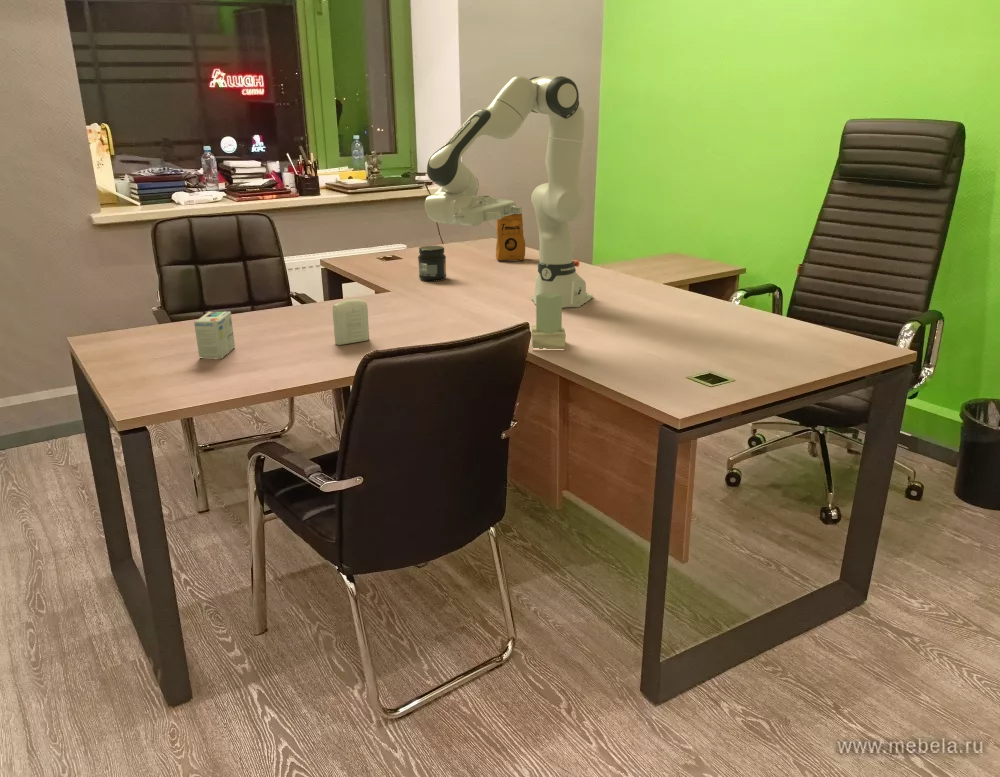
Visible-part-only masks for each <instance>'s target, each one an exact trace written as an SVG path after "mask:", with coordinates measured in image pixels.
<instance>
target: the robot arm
mask: <svg viewBox="0 0 1000 777" xmlns="http://www.w3.org/2000/svg"><path fill="white" fill-rule="evenodd" d="M579 99H580V94H579V89H578V86H577V84H576V83H575V81H573V80H572V79H571V78H569V77H566V76H558V75H545V76H535V77H531V78H528V77H525V76H523V75H515V76H513V77H512V78H511V79H510V80H508V81H507V82H506V84H505V85H504V86H503V87H502V88H501V89H500V90H499V91H498V93H497V95H495V97H494V98H493V100H492V101H491V102H490V104H488V106H487V107H485V108H482V109H478V110H476V111H475V112H473V113H472V114H471V115H470V116H469V117H468V118H467V119H466V120H465V121H464V122H463V123H462V125H461V126H460V127H459V128H458V129H457V130H456V131H455V132H454V134H452V136H451V137H450V138H449V139H448V140H447V141H446V142H445V144H443V146H441V147H440V148H439V149H437V150H436V151H435V152H434V153H433V154H432V155H431V156H430V157H429V159H428V161H427V167H426V174H427V177H428V178H429V179H430V181H432V182H434V183H435V184H436V185H437V186H439V189H438V190H437V191H435V192H434V193H433V194H430V195H428V196H427V197H426V198H425V200H424V211H425V214H426V215H427V218H429V219H430V220H431V221H433V222H435V223H439V224H442V225H443V224H444V225H456V224H457V225H459V226H466V227H467V226H468V227H479V226H480V225H481V224H482V223H486V222H489V221H492V220H497V219H502V218H503V217H504V216H508V215H512V214H521V213H523V212H522V211H523V208H522V207H520V206H516V202H515V201H514V200H511V199H504V198H496V197H495V198H494V197H493V196H492V195H484V196H483V195H477V193H478V190H479V179H478V178H477V176H476V175H475V174H474V173H473V172H472V171H471V170H470V169H469V168H468V167H467V166H466V164H465V163H464V162H462V156H463V155H464V154H465V152H466V151H467V150H468V149H469V148H470V146H471V145H472V144H473V143H474V142H475V141H476V140H477V139H478V138H480V137H481V136H488V137H491V138H494V139H497V140H505V139H508V138H511V137H513V136H514V135H515V134H516V133H517V132H518V131H519V130H520V128H521V126H522V125H523V123H524V121H526V119H527V118H528V116H529V114H530V113H536V114H542V115H547V116H548V118H549V131H548V139H547V144H546V151H545V152H546V153H545V160H544V164H545V168H546V171H547V181H548V182H544V183H542V184H539V185H537V186H536V187H535V188H534V190H532V191H533V192H532V193H531V197H530V198H531V199H530V200H531V205H532V207H533V209H534V214H535V219H536V225H537V231H538V237H539V239H538V240H539V258H538V259H539V260H538V262H537V272H538V274H537V276H536V277H535V281H534V294H533V296H531V301H533V303H534V305H536V296H537V295H540V294H543V293H547V292H549V293H555V294H560V295H562V309H563V308H580V307H582V306H583V305H584V303H585V304H586V303H588V302H589V301H590V300H592V299H593V298H594V295H593V294H592V293H588V292H587V284H586V283H587V282H586V280H585V279H583V278H582V277H581V276H580V275H579V274H578V272H577V270H576V267H577V268H578V267H579V266H580V261H579V260H573V258H574V237H573V233H572V232H571V229H570V224H569V222H573V221H575V220H577V219H579V218H581V215H582V214H583V213H584V209H585V200H584V198H583V195H582V190H581V189H582V188H581V174H580V169H581V159H582V158H581V157H582V151H583V144H584V136H585V135H584V134H585V112H584V110H583V108H582V106H580V101H579ZM591 298H592V299H591ZM581 305H582V306H581Z"/></svg>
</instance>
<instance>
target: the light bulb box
mask: <svg viewBox="0 0 1000 777" xmlns="http://www.w3.org/2000/svg"><path fill="white" fill-rule="evenodd" d="M193 322H194V323H193V324H194V331H195V337H196V344H197V350H198V351H197V352H198V358H199V357H202V358H222V357H224V356H225V355H226V354H227V353H228V352H229V351H231V350H232V349H233V348H234V347H235V348H236V345H235V344H236V343H235V336H234V329H233V321H232V312H231V311H229V310H228V311H207V312H206V313H205V314H203V315H202V316H201V317H200V318H198V319H196V320H195V321H193ZM235 348H234V349H235ZM234 349H233V350H234ZM233 350H232V351H233ZM232 351H231V352H232ZM227 355H228V354H227ZM227 355H226V356H227ZM226 356H225V357H226ZM225 357H224V358H225Z"/></svg>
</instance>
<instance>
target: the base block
mask: <svg viewBox="0 0 1000 777" xmlns="http://www.w3.org/2000/svg"><path fill="white" fill-rule="evenodd" d="M566 335H567V334H566V332H565V326H564V325H563V324H562V330H560V331H557V332H554V333H551V334H549V333H545V332H540V331H536V325H531V348H532V347H533V348H539V349H543V348H546V349H565V350H566Z"/></svg>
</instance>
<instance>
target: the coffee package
mask: <svg viewBox="0 0 1000 777" xmlns="http://www.w3.org/2000/svg"><path fill="white" fill-rule="evenodd" d="M522 213H523V212H522ZM522 213H521V214H512V215H508V216H504V217H503V218H502V219H496V237H497V238H496V248H495V258H496V260H498V261H502V260H523V261H524V259H525V257H526V240H525V236H524V229H523V228H524V223H523V214H522Z"/></svg>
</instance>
